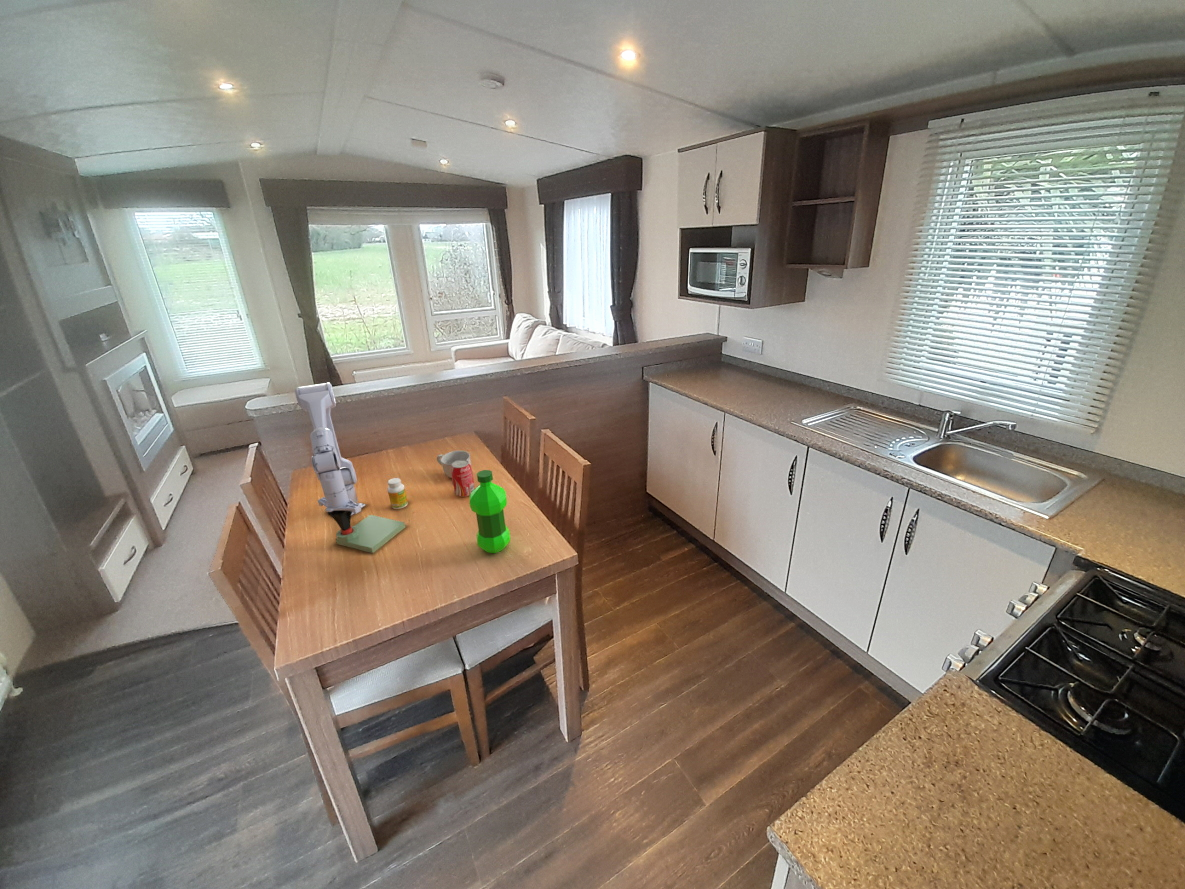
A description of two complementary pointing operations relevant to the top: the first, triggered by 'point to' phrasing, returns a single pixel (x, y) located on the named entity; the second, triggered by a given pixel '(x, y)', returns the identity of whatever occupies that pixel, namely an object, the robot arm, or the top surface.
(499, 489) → the plastic bottle
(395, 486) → the supplement bottle
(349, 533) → the button
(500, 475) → the top surface
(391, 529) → the scale
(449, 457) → the teacup
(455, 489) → the soda can
